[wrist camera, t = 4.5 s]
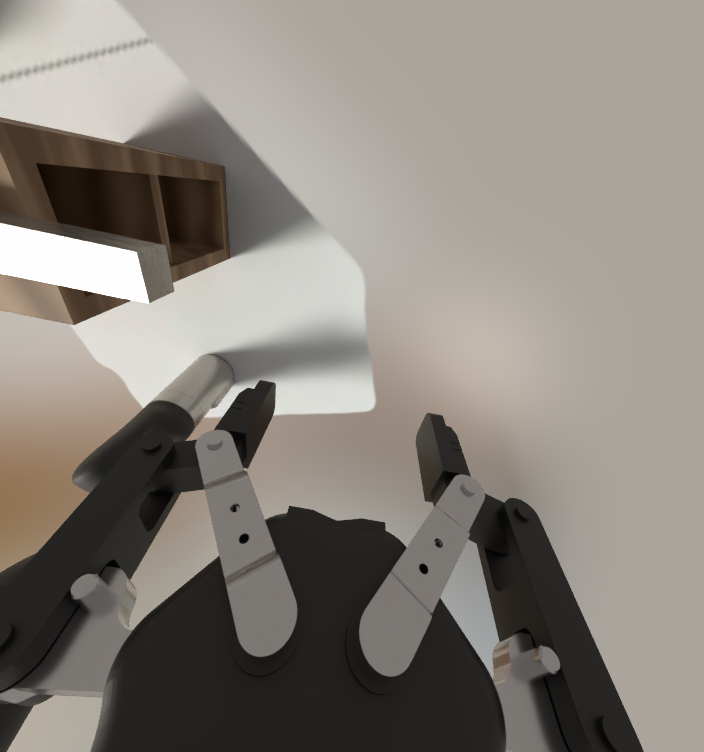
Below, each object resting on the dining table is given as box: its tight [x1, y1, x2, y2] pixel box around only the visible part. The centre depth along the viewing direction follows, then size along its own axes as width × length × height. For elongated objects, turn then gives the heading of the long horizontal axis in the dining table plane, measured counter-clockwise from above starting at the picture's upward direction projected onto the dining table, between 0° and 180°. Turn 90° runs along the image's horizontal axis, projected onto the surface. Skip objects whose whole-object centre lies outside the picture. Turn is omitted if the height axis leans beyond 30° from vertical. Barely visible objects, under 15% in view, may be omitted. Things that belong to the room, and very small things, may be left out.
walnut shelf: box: [0, 117, 230, 325], centre depth 33 cm, size 16×14×32 cm
